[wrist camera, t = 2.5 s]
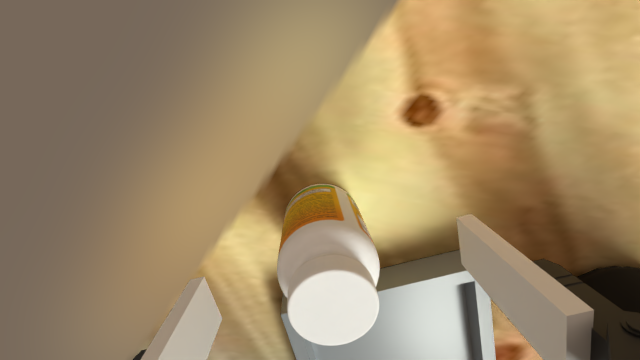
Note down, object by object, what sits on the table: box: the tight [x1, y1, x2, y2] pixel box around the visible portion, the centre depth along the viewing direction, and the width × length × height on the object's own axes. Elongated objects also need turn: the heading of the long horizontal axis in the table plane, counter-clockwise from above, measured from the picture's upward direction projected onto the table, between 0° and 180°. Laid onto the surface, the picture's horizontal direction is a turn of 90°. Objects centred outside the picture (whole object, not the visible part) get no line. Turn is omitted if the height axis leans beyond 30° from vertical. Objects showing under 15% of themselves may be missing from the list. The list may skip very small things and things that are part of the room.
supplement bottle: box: [277, 184, 380, 346], centre depth 17 cm, size 5×5×10 cm
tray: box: [281, 250, 496, 360], centre depth 24 cm, size 15×15×2 cm
